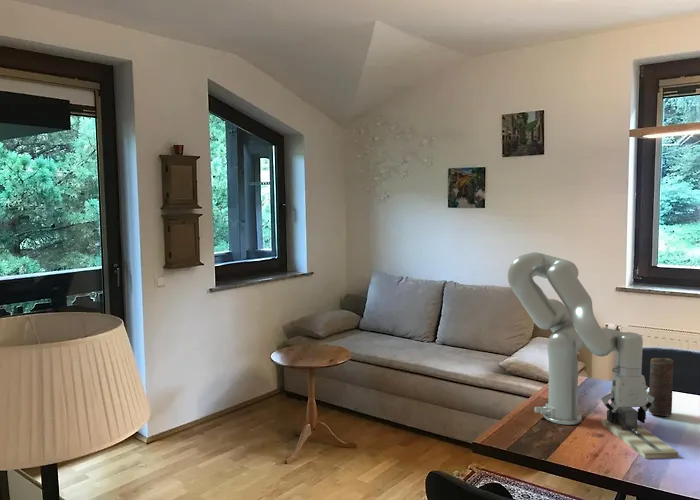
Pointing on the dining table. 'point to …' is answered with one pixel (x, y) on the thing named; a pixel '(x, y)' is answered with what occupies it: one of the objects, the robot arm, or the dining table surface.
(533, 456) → the dining table surface
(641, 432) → the rail board
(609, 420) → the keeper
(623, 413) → the dark grey block
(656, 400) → the candle
